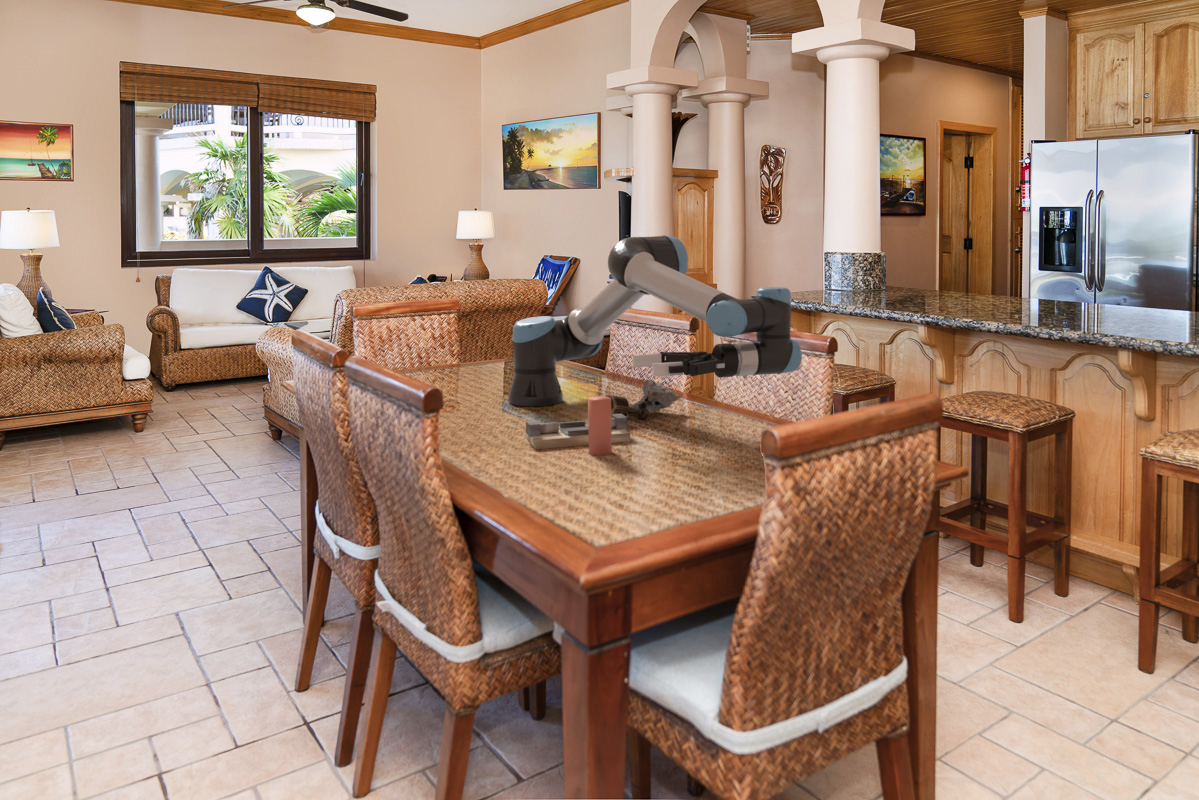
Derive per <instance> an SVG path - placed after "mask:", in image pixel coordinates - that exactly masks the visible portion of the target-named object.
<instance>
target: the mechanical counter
mask: <svg viewBox="0 0 1199 800" xmlns="http://www.w3.org/2000/svg"><path fill="white" fill-rule="evenodd" d="M605 397H610V398H611V418H612V414H623V415H624V416H626V417H627V418H628V415H631V416H635V415H636V417H637V418H638V419H642V420H645V419H647V418H648V417H649V415H650V413H649V410H647V409H646V408H641V409H637V408H631V407H630V405H629V400H628V399H627V398H626V397H624V396H617V395H612V394H608V395H605Z"/></svg>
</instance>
